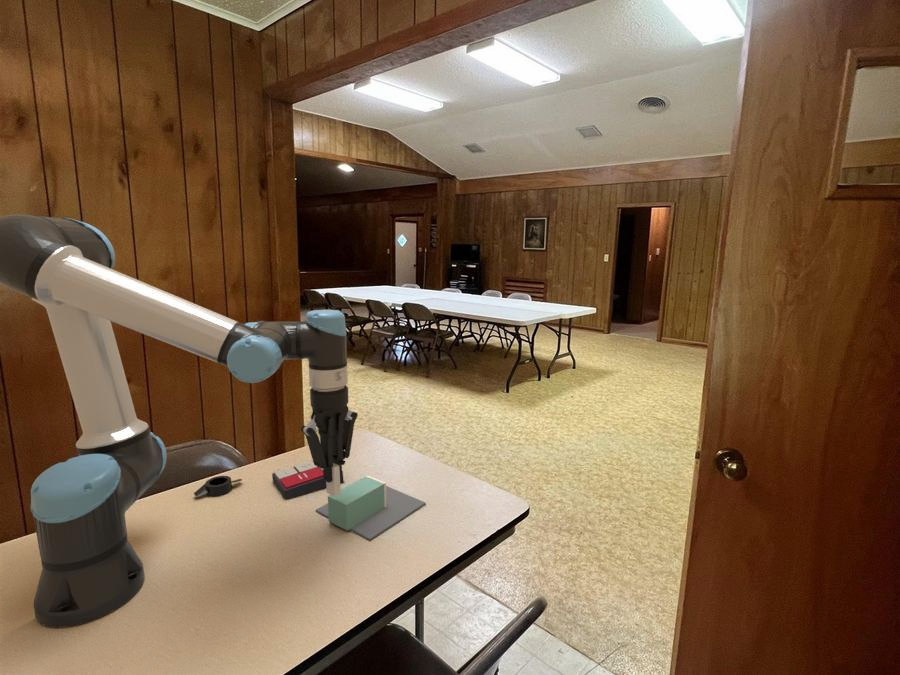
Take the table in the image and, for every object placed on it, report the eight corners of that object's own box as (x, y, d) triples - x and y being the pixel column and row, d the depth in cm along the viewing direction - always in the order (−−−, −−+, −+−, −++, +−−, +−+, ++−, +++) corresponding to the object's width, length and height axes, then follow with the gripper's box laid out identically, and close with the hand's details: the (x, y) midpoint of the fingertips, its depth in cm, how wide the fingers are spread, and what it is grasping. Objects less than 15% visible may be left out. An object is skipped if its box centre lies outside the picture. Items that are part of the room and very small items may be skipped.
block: (327, 496, 102) (367, 475, 111) (328, 521, 103) (368, 498, 112) (346, 505, 98) (386, 482, 108) (347, 530, 99) (386, 506, 109)
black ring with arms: (202, 486, 119) (201, 475, 118) (244, 482, 121) (243, 472, 120) (192, 502, 111) (191, 490, 111) (237, 498, 113) (236, 487, 113)
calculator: (271, 470, 120) (326, 453, 129) (273, 485, 121) (328, 467, 129) (284, 488, 111) (343, 468, 120) (286, 504, 112) (344, 483, 121)
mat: (315, 511, 107) (315, 509, 107) (372, 481, 121) (372, 480, 121) (370, 541, 97) (370, 539, 97) (425, 504, 111) (425, 502, 111)
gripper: (313, 397, 87) (319, 512, 91) (365, 382, 97) (368, 486, 102) (290, 390, 92) (296, 500, 96) (342, 376, 102) (345, 476, 106)
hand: (333, 493), depth 99 cm, fingers closed
